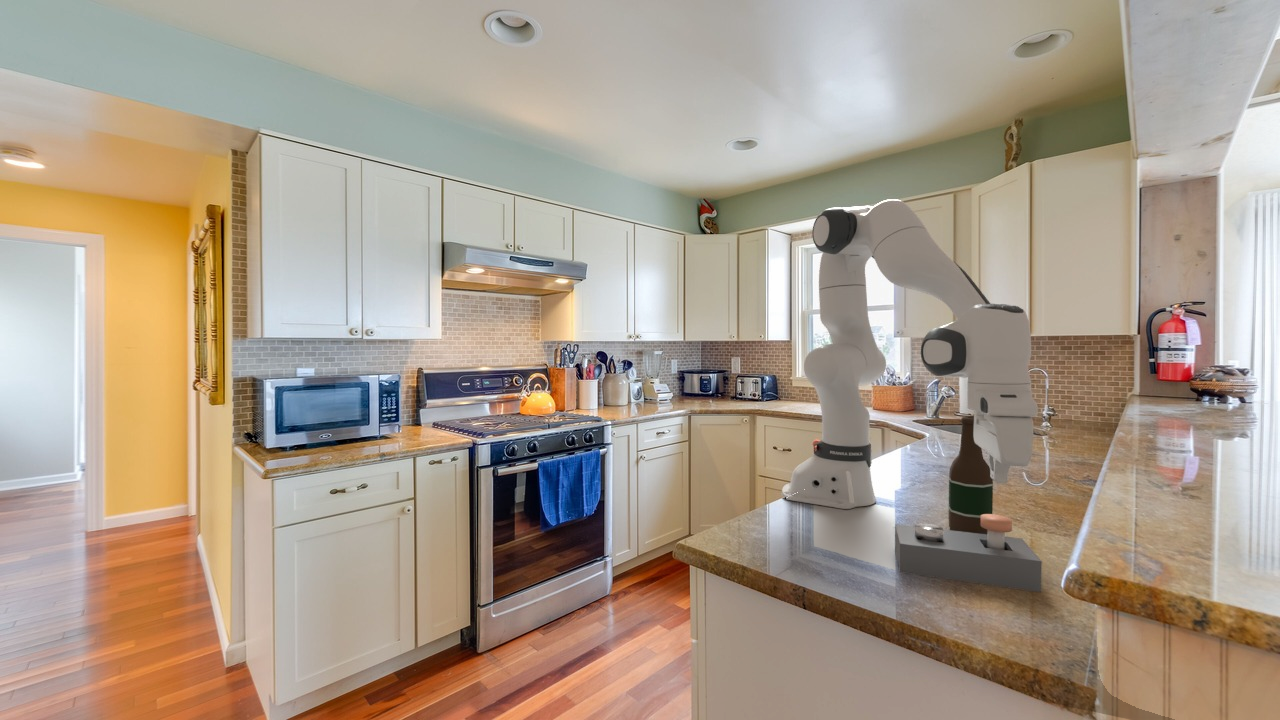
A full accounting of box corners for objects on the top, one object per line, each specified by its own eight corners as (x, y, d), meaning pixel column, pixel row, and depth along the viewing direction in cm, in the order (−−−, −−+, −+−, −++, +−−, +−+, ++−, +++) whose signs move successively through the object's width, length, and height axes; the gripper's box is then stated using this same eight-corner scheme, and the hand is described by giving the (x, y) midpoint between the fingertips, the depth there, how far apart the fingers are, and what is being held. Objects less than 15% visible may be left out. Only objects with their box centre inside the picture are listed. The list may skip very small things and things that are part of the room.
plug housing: (899, 572, 89) (900, 543, 89) (894, 550, 98) (895, 524, 98) (1041, 592, 81) (1041, 561, 81) (1021, 566, 91) (1021, 538, 91)
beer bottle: (996, 532, 107) (998, 416, 106) (987, 543, 101) (989, 421, 100) (953, 523, 112) (954, 413, 111) (943, 533, 106) (944, 417, 106)
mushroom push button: (983, 556, 87) (984, 520, 86) (977, 546, 91) (977, 512, 90) (1014, 560, 85) (1015, 524, 85) (1007, 550, 89) (1007, 515, 89)
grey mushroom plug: (916, 564, 90) (916, 530, 90) (913, 554, 95) (913, 522, 94) (944, 568, 89) (945, 533, 89) (940, 558, 93) (941, 525, 93)
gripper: (963, 393, 98) (964, 466, 98) (991, 405, 79) (992, 496, 79) (1003, 394, 95) (1003, 468, 96) (1042, 406, 76) (1042, 499, 77)
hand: (998, 481), depth 87 cm, fingers closed
